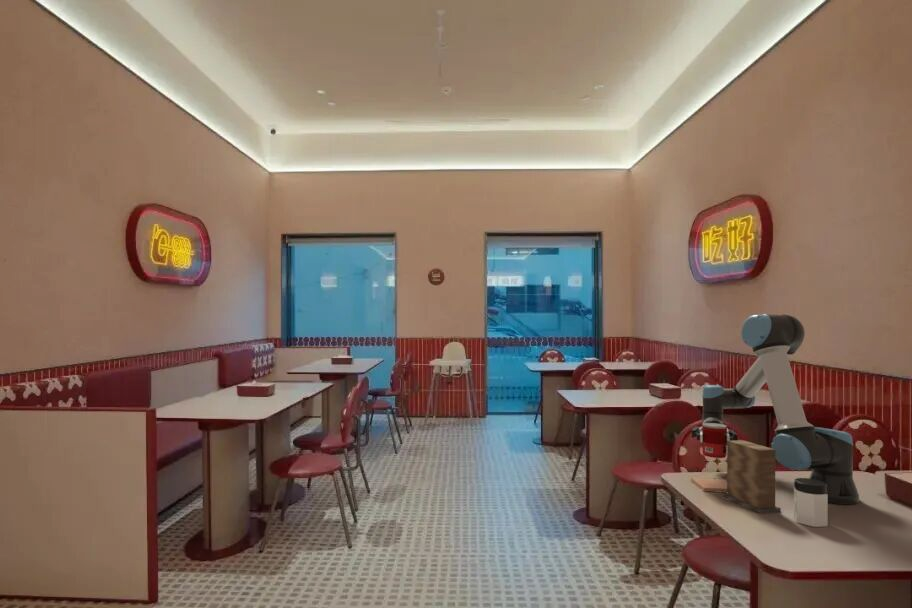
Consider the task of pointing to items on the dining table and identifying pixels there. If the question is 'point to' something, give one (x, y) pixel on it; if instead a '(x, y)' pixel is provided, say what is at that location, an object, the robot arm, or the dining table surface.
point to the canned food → (714, 440)
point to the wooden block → (751, 476)
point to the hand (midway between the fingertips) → (714, 439)
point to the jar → (810, 502)
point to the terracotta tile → (710, 484)
